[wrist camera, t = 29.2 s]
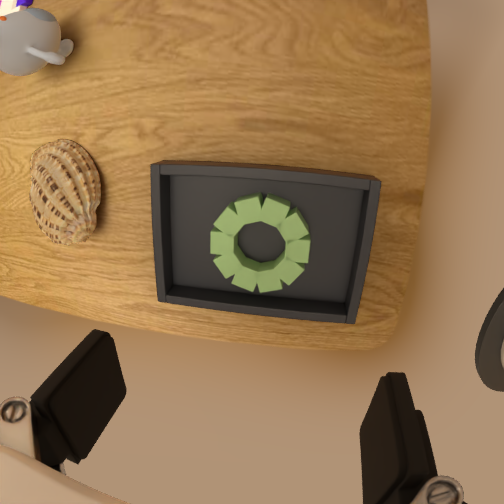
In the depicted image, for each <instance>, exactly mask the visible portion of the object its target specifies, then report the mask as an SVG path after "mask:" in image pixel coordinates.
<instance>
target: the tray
mask: <svg viewBox="0 0 504 504" xmlns="http://www.w3.org/2000/svg"><path fill="white" fill-rule="evenodd" d="M380 188H381V181H380V180H378V179H377V178H375V177H374V176H370V175H362V174H355V173H347V172H338V171H330V170H321V169H311V168H301V167H289V166H277V165H264V164H249V163H231V162H209V161H168V160H163V161H160V162H157V163H153V164H151V207H152V229H153V247H154V261H155V274H156V286H157V296H158V301H159V302H165V303H166V302H167V303H171V304H178V305H184V306H191V307H198V308H206V309H213V310H220V311H228V312H236V313H244V314H253V315H261V316H271V317H280V318H290V319H300V320H310V321H322V322H334V323H346V324H355V321H356V317H357V312H358V308H359V304H360V299H361V295H362V291H363V286H364V281H365V276H366V272H367V267H368V262H369V256H370V251H371V246H372V240H373V234H374V228H375V222H376V216H377V210H378V203H379V196H380ZM258 192H261V193H262V197H263V201H265V199H266V197H267V195H268V193H271V194H274V195H276V196H278V197H281V198H283V199H286V200H288V201H290V202H291V203H290V209H289V210H291V209H293V208H295V207H297V208H298V210H299V211H300V213H301V215H302V216H303V218H304V219H305V221H306V223H307V224H308V227H309V233H310V239H311V243H310V251H309V259H308V263H304V265H305V270H304V271H303V272H302V273H301V274H300V275H299V276H298V277H297V278H296V279H295V280H294V281H293V282H292V283H291V284H290V285H287V284H286V283H285V282H284V281H283V288H282V289H279V290H274V291H268V292H262V293H260V291H259V288H258V284H256V286H255V289H254V291H253V292H251V291H249V290H246V289H244V288H241V287H239V286H237V285H234V284H232V281H233V278H234V276H235V274H234V275H232V276H230V277H228V278H227V279H226V278H225V277H224V276H223V274H222V273H221V271H220V270H219V268H218V267H217V266H216V264H215V263H214V261H213V260H214V258H215V256H216V255H217V254H211V253H210V242H211V230H212V229H213V228H214V227H215V226H214V225H213V224H214V222H215V221H216V220H217V219H218V217H219V216H220V215H221V214H222V212H223V211H224V210H225V209H226V207H227V206H228V205H229V204H230V203H231V202H235V201H236V200H237V199H238V198H239V197H242V196H246V195H250V194H254V193H258ZM285 245H286V241H285V240H284V238H283V237H282V235H281V234H280V232H279V230H278V229H277V228H276V227H274V226H272V225H269V224H267V223H264V222H262V221H259V222H254V223H250V224H245V225H244V226H243V227H242V228H241V229H240V231H239V232H238V246H239V247H240V249H241V250H242V252H243V253H244V255H245V256H246V257H247V258H250V259H252V260H254V261H257V262H259V263H263V262H268V261H273V260H276V259H277V258H278V257H279V256H280V255H281V253H282V252H283V251H284V250H285Z"/></svg>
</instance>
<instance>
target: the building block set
mask: <svg viewBox="0 0 504 504" xmlns="http://www.w3.org/2000/svg"><path fill="white" fill-rule="evenodd" d="M32 1H33V0H1V1H0V16H4V15H7V14H10V13H13V12H17V11H22V10H24V9H27V6H29V5H31V4H32Z"/></svg>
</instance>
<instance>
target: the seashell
mask: <svg viewBox="0 0 504 504" xmlns="http://www.w3.org/2000/svg"><path fill="white" fill-rule="evenodd" d="M30 161H31V168H30V169H31V171H30V173H31V176H32V177H31V181H32V184H31V190H30V195H29V197H30V201H31V204H32V207H33V214H34V217H35V220H36V222H37V224H38V226H39V228H40V229H41V230H42V232H43V233H44V234H45V235H46V236H48V237H49V239H50V240H51V241H52V242H54V243H58V244H60V243H61V244H64V245H70V243H72V242H73V243H79V242H86V240H87V238H89V236H90V234H92V233H93V231H94V229H95V228H96V224H97V220H96V213H95V211H96V208H97V206H98V205H99V204H100V198H101V182H100V177H99V173H98V170H97V168H96V166H95V164H94V162H93V160H92V158H91V157H90V156H89V154H88V153H87V152H86V151H85V150H84V149H83V148H82V147H81V146H80V145H78V144H77V143H75V142H73V141H70V140H65V139H58V142H49V143H47V144H45V145H43V146H41V147H39V148H38V149H37V150H35V151H34V153H33V154H32V156H31V160H30Z"/></svg>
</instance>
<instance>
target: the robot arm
mask: <svg viewBox="0 0 504 504" xmlns="http://www.w3.org/2000/svg"><path fill="white" fill-rule="evenodd" d="M501 363H502V366H503V368H504V340H503V343H502V348H501ZM125 395H126V386H125V382H124V379H123V375H122V371H121V367H120V363H119V360H118V355H117V351H116V347H115V343H114V339H113V338H112V337H111V336H110V334H109V333H108V332H104V331H100V330H96V329H94V330H92V332H90V334H88V335H87V336H86V337H85V339H84V340H83V341H82V342H81V343H80V344H79V345H78V346H77V347H76V348H75V349H74V350H73V351H72V352H71V353H70V354H69V355H68V356H67V357H66V359H65V360H64V361H63V362H62V363H61V364H60V365H59V366H58V367H57V368H56V369H55V370H54V371H53V373H52V374H51V375H50V376H49V377H48V378H47V379H46V380H45V381H44V382H43V384H42V385H41V386H40V387H39V388H38V389H37V390H36V391H35V393H34V394H33V395H32V396H31V399H32V400H31V401H30V402H28V401H27V400H26V399H24V398H22V397H11V398H8V399H6V400H4V401H3V402H2V403H1V404H0V504H130V503H127V502H125V501H122V500H119V499H117V498H114V497H112V496H109V495H107V494H104V493H102V492H100V491H98V490H95V489H93V488H91V487H88V486H87V485H84V484H82V483H80V482H78V481H76V480H74V479H72V478H70V477H68V476H66V474H65V469H64V464H63V462H64V460H65V459H66V458H67V459H68V460H70V461H72V462H74V463H76V464H79V462H80V461H81V459H85V458H86V457H87V456H88V454H89V452H90V451H91V449H92V447H93V446H94V444H95V443H96V441H97V440H98V438H99V437H100V435H101V433H102V432H103V430H104V429H105V427H106V426H107V424H108V422H109V421H110V419H111V418H112V416H113V415H114V413H115V412H116V410H117V408H118V407H119V405H120V404H121V402H122V401H123V399H124V398H125ZM360 446H361V463H362V486H363V504H467V503H465V502H464V501H463V499H464V492H463V489H462V486H461V485H460V483H458V481H456V480H455V479H454V478H451V477H449V476H438V474H437V469H436V465H435V460H434V456H433V452H432V448H431V443H430V439H429V435H428V431H427V427H426V424H425V420H424V416H423V414H422V412H421V411H420V410H415V407H414V403H413V399H412V396H411V392H410V389H409V385H408V382H407V378H406V375H405V373H397V372H388V373H387V374H386V376H382V377H381V378H380V381H379V383H378V386H377V388H376V391H375V394H374V396H373V398H372V401H371V404H370V406H369V408H368V411H367V413H366V415H365V418H364V420H363V422H362V425H361V428H360Z"/></svg>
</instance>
